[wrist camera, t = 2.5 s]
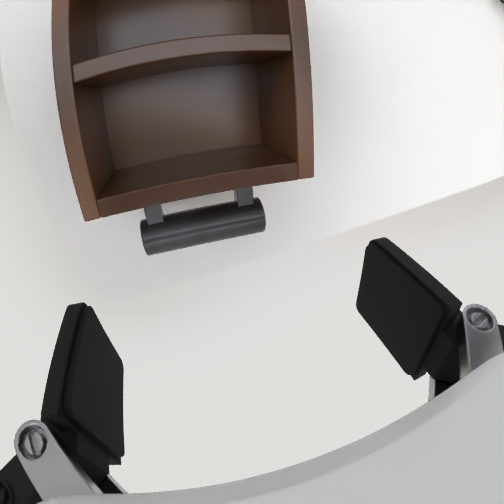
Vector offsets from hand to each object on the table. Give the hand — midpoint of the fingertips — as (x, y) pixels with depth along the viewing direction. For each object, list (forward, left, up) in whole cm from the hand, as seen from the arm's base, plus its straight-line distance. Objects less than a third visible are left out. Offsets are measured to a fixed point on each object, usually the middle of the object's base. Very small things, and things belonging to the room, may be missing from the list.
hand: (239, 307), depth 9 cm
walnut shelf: (0, +7, -10) cm, 12 cm away
